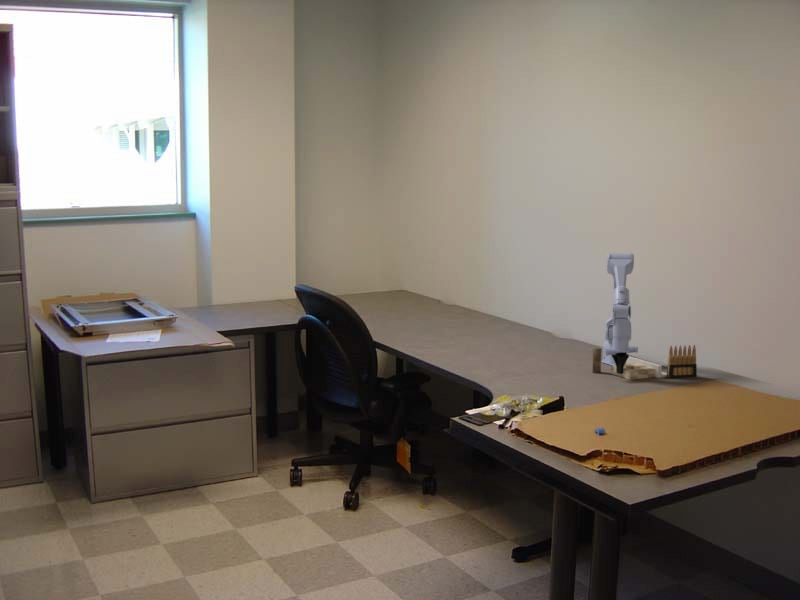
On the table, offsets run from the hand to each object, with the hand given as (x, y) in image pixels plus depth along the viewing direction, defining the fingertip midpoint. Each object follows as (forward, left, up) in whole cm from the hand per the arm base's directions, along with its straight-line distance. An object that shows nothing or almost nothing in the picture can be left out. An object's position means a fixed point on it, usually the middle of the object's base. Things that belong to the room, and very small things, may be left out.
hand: (619, 373), depth 315 cm
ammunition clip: (+11, +20, -2) cm, 22 cm away
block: (0, +6, -1) cm, 6 cm away
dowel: (-10, -3, -2) cm, 10 cm away
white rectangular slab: (-1, +14, -2) cm, 14 cm away
